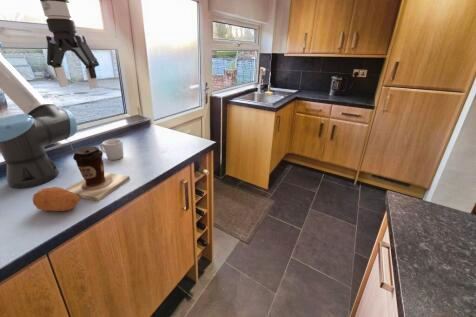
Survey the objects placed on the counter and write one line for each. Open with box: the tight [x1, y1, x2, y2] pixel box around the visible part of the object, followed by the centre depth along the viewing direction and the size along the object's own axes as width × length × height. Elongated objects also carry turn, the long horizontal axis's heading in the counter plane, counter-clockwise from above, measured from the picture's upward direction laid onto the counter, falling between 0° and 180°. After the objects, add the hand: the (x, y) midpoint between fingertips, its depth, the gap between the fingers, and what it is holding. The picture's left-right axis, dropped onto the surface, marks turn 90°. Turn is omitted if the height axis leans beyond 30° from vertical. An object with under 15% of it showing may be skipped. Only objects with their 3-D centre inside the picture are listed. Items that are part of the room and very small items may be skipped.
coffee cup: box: [72, 146, 106, 187], centre depth 82 cm, size 9×8×13 cm
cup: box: [99, 138, 124, 161], centre depth 106 cm, size 11×8×8 cm
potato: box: [32, 186, 81, 212], centre depth 71 cm, size 7×13×7 cm, turn 80°
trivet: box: [65, 171, 131, 202], centre depth 85 cm, size 15×15×1 cm
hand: (79, 87), depth 84 cm, fingers open, 13 cm apart
